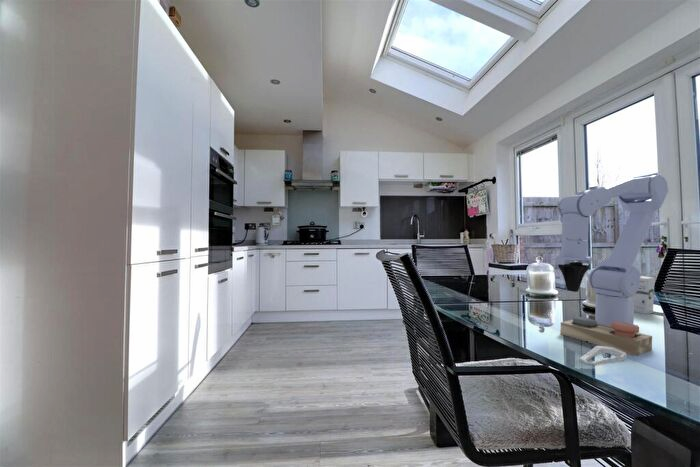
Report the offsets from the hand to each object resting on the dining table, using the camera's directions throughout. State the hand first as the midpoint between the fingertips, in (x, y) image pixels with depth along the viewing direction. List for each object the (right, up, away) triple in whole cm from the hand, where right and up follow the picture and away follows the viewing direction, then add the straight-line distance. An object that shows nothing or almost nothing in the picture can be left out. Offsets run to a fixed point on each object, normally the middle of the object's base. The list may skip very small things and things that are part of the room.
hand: (572, 291), depth 82 cm
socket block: (+1, -11, -8) cm, 13 cm away
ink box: (+37, -11, +22) cm, 45 cm away
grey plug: (0, -10, -5) cm, 11 cm away
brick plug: (+3, -9, -12) cm, 15 cm away
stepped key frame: (-6, -11, -18) cm, 22 cm away
